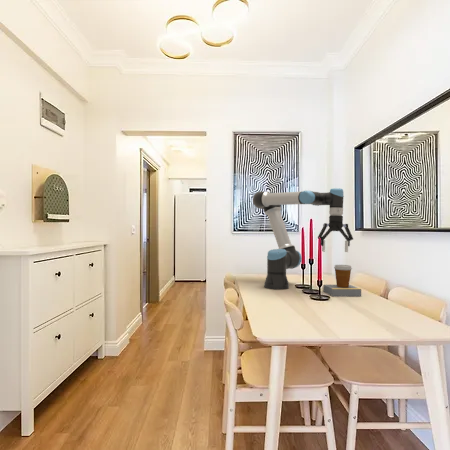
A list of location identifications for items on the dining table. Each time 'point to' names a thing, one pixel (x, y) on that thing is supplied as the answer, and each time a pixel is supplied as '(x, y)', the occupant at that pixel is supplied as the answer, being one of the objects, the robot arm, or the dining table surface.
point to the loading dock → (342, 290)
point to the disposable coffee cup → (342, 275)
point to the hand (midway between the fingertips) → (334, 251)
